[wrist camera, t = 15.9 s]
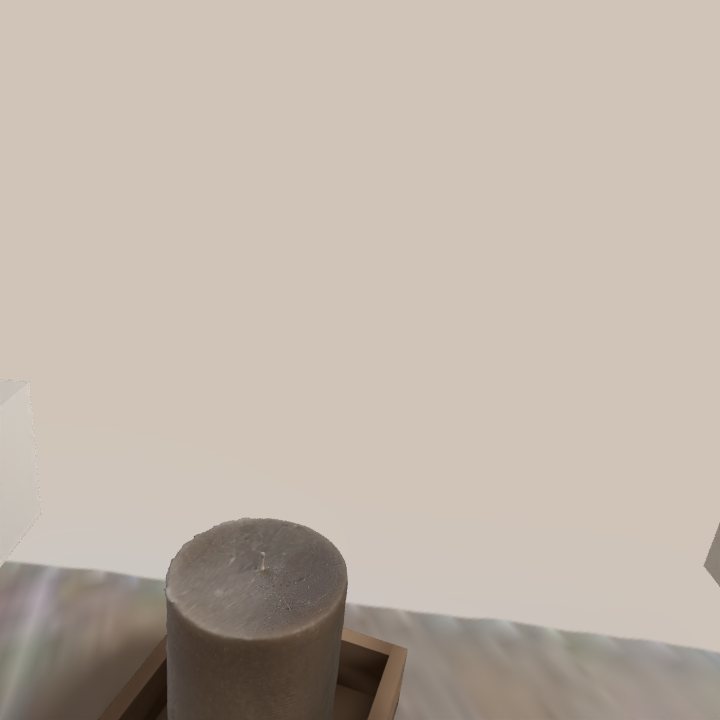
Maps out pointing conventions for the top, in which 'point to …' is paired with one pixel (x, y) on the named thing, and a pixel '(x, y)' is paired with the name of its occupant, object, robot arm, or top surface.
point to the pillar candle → (254, 623)
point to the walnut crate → (352, 693)
